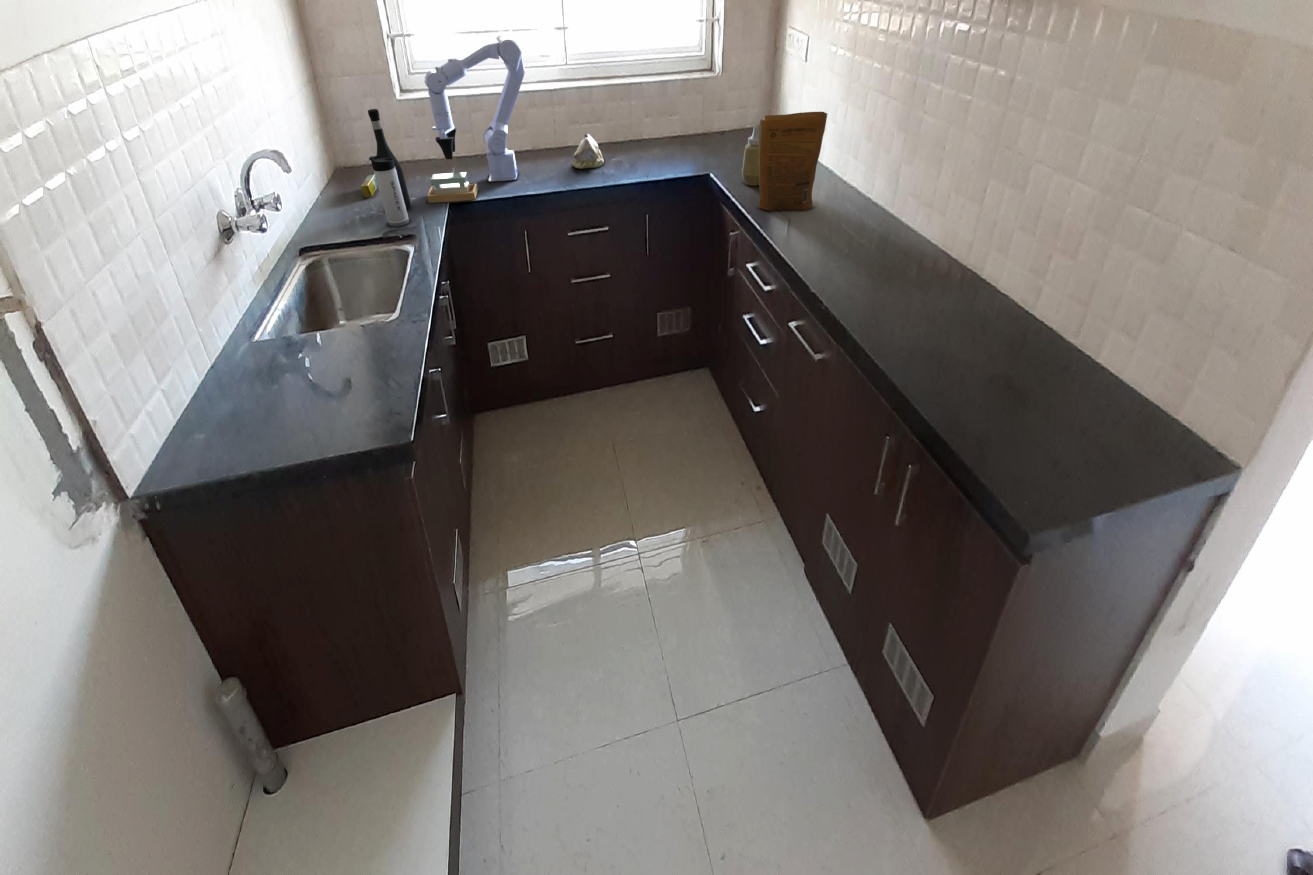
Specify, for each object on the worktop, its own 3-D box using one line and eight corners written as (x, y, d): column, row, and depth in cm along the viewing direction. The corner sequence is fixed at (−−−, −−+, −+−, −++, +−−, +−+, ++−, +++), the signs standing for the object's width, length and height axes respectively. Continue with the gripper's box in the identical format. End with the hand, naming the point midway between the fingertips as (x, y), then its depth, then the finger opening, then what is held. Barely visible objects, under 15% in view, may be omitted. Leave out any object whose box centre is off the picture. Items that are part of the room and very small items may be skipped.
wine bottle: (388, 215, 226) (361, 115, 207) (384, 207, 231) (356, 109, 212) (414, 210, 228) (389, 110, 210) (408, 202, 234) (383, 105, 215)
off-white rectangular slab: (470, 191, 239) (468, 181, 237) (468, 196, 235) (466, 187, 233) (437, 193, 238) (435, 184, 236) (435, 199, 234) (433, 189, 232)
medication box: (371, 186, 248) (367, 175, 245) (379, 185, 248) (375, 173, 245) (364, 198, 238) (359, 186, 236) (372, 196, 238) (368, 184, 236)
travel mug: (389, 219, 223) (371, 154, 210) (411, 218, 223) (394, 152, 211) (385, 227, 218) (366, 160, 205) (407, 226, 218) (389, 159, 206)
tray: (477, 190, 241) (476, 183, 239) (475, 199, 234) (473, 192, 232) (432, 193, 240) (430, 186, 239) (428, 203, 233) (426, 196, 232)
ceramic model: (602, 168, 254) (600, 139, 247) (571, 169, 254) (568, 140, 248) (605, 156, 265) (603, 127, 258) (575, 157, 265) (572, 128, 259)
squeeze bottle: (768, 180, 238) (772, 123, 227) (761, 188, 232) (764, 130, 221) (745, 178, 241) (748, 121, 230) (737, 185, 235) (739, 128, 224)
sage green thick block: (468, 181, 237) (466, 172, 235) (466, 187, 233) (464, 177, 231) (435, 184, 236) (432, 174, 234) (432, 189, 232) (430, 179, 230)
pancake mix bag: (818, 212, 215) (829, 114, 197) (754, 213, 216) (759, 115, 199) (816, 204, 220) (826, 107, 202) (754, 205, 221) (758, 108, 204)
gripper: (432, 107, 237) (441, 149, 245) (425, 119, 225) (435, 163, 234) (453, 106, 237) (462, 148, 246) (448, 117, 226) (457, 161, 234)
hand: (450, 155), depth 240 cm, fingers open, 7 cm apart
